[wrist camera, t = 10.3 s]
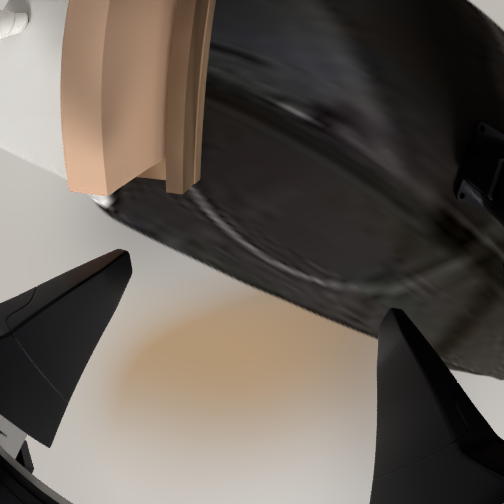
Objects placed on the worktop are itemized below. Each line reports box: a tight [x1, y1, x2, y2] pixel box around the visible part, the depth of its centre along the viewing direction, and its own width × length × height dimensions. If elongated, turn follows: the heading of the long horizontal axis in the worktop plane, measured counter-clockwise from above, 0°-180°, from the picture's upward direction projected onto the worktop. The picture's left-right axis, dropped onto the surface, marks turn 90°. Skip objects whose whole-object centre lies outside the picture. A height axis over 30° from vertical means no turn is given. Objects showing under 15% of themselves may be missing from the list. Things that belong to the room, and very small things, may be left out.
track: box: [136, 0, 216, 194], centre depth 14 cm, size 8×16×3 cm, turn 174°
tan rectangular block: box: [61, 0, 177, 196], centre depth 12 cm, size 3×12×7 cm, turn 173°
